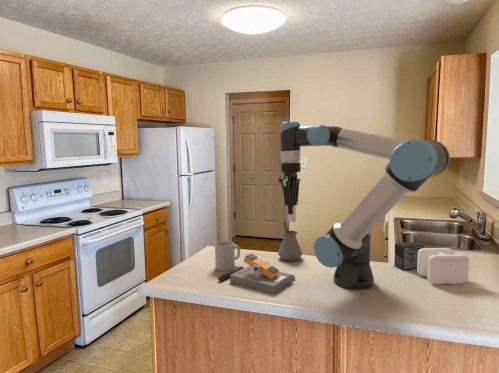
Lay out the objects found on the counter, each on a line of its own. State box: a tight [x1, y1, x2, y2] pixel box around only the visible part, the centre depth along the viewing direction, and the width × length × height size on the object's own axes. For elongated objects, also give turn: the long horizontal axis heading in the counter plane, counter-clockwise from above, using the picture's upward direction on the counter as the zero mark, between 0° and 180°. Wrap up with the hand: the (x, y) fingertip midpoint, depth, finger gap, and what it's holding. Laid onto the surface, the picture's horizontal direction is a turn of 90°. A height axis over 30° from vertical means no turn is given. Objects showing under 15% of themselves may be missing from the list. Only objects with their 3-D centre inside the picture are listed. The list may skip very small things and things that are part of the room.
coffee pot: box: [277, 220, 303, 262], centre depth 176 cm, size 21×12×15 cm, turn 4°
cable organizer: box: [416, 247, 470, 286], centre depth 142 cm, size 15×11×12 cm
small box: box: [393, 241, 425, 272], centre depth 158 cm, size 11×6×10 cm, turn 106°
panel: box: [229, 260, 293, 295], centre depth 142 cm, size 20×14×8 cm
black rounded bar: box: [217, 265, 245, 282], centre depth 150 cm, size 2×16×2 cm, turn 145°
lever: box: [243, 253, 280, 279], centre depth 142 cm, size 14×4×3 cm, turn 55°
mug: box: [214, 240, 241, 272], centre depth 161 cm, size 12×8×11 cm
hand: (291, 221), depth 144 cm, fingers closed
